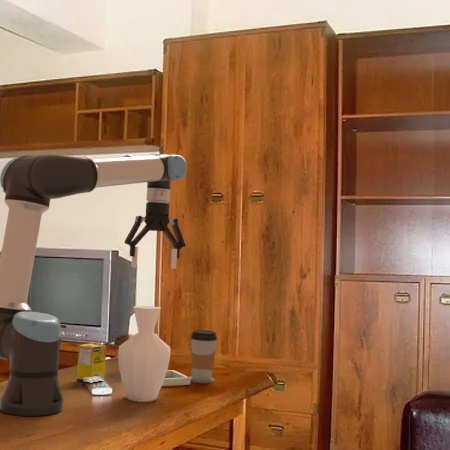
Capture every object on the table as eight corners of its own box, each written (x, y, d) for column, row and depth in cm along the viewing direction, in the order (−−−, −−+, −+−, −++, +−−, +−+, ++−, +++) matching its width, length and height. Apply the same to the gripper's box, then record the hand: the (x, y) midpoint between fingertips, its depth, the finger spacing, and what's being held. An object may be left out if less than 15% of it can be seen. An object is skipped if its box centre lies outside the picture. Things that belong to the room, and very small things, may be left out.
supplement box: (104, 381, 211) (106, 345, 211) (90, 384, 206) (93, 347, 206) (90, 378, 214) (92, 342, 214) (76, 381, 209) (78, 344, 209)
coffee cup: (212, 382, 215) (214, 334, 215) (185, 380, 216) (188, 332, 217) (216, 378, 223) (219, 331, 223) (191, 375, 224) (194, 329, 225)
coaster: (193, 384, 214) (193, 382, 214) (181, 378, 222) (181, 376, 222) (219, 382, 219) (219, 380, 219) (206, 377, 227) (206, 375, 227)
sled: (150, 386, 206) (152, 345, 206) (122, 370, 228) (124, 334, 228) (190, 384, 212) (192, 345, 212) (159, 369, 234) (161, 333, 234)
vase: (155, 406, 182) (161, 311, 183) (106, 400, 186) (112, 306, 187) (175, 396, 196) (180, 307, 197) (129, 390, 200) (134, 303, 201)
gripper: (125, 198, 215) (121, 267, 215) (197, 205, 227) (194, 269, 226) (117, 199, 222) (113, 265, 221) (188, 205, 234) (184, 268, 233)
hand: (154, 268), depth 224 cm, fingers open, 13 cm apart
